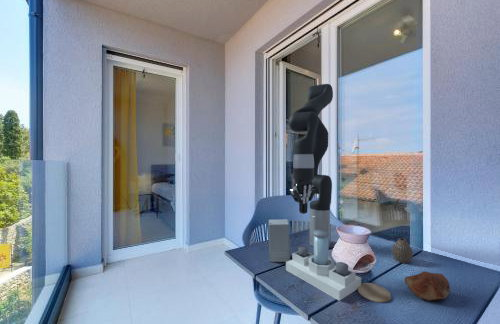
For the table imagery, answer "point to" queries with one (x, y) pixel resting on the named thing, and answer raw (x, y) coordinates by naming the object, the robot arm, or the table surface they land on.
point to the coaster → (374, 292)
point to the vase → (402, 251)
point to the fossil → (428, 285)
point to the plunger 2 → (342, 269)
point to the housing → (323, 276)
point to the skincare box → (279, 240)
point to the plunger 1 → (303, 251)
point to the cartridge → (321, 247)
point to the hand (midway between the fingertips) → (303, 213)
